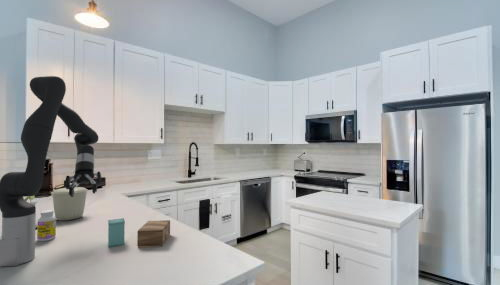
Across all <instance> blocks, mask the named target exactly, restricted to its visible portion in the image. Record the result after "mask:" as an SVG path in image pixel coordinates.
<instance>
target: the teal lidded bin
mask: <svg viewBox="0 0 500 285" xmlns="http://www.w3.org/2000/svg"><path fill="white" fill-rule="evenodd" d="M107 223H108V224H107V225H108V227H107V228H108V232H107V234H108V235H107V236H108V237H107V238H108V239H107V240H108V241H107V246H108V248H114V247H119V246H124V245H125V224H126V222H125V218H124V217H123V218H115V219H108V220H107Z"/></svg>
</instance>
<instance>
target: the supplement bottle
mask: <svg viewBox="0 0 500 285" xmlns="http://www.w3.org/2000/svg"><path fill="white" fill-rule="evenodd" d="M38 218H39V219H38V225H37V232H36V234H37V235H36V240H37V241H38V242H46V241H50V240H53V239H54V238H56V231H57V230H56V228H57V226H56V225H57V219H56V217H55V212H54V209H48V210H46V209H45V210H42V211H40V217H38Z"/></svg>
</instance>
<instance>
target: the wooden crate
mask: <svg viewBox="0 0 500 285" xmlns="http://www.w3.org/2000/svg"><path fill="white" fill-rule="evenodd" d="M170 236H171V220H148V221H147V222H146V223H145V224H143V225H142V226H141V227H140V228H139V229H138V230H137V239H136V241H137V243H136V246H137V248H154V247H153V246H160V247H163V246H164V244H165V242H166V241H167V239H168V238H169V237H170Z"/></svg>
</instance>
